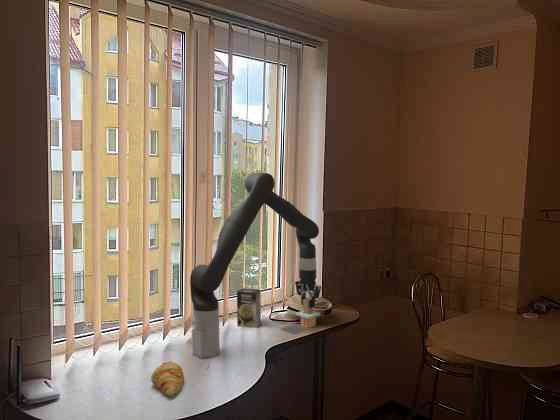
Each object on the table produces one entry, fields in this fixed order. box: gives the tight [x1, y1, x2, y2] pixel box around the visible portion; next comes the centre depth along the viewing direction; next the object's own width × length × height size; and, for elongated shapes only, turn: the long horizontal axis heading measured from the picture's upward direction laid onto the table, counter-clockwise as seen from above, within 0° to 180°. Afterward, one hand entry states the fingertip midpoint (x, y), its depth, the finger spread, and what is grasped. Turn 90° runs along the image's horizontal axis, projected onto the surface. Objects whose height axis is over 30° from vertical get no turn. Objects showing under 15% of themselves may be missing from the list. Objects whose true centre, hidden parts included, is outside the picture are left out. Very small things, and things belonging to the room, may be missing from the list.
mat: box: [280, 324, 309, 335], centre depth 199 cm, size 9×9×1 cm
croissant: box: [150, 361, 185, 397], centre depth 151 cm, size 21×10×8 cm, turn 19°
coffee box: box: [236, 287, 262, 329], centre depth 205 cm, size 9×6×16 cm
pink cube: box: [300, 316, 317, 328], centre depth 205 cm, size 6×6×5 cm
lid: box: [295, 297, 321, 319], centre depth 204 cm, size 8×8×7 cm
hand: (308, 306), depth 204 cm, fingers open, 4 cm apart
